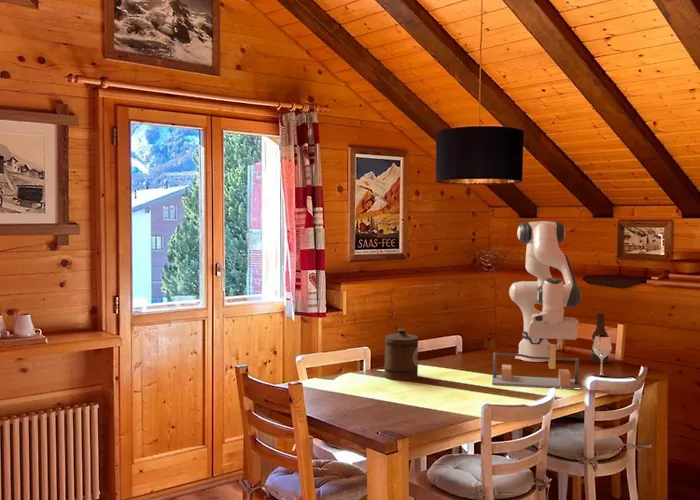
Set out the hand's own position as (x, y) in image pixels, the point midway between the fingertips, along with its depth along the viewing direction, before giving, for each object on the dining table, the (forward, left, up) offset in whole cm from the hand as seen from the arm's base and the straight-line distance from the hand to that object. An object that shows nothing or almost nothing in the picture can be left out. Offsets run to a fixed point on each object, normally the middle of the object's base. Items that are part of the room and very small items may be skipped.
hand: (552, 348), depth 302 cm
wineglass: (-23, +23, -16) cm, 36 cm away
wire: (-2, -7, -4) cm, 8 cm away
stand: (-2, -7, -16) cm, 17 cm away
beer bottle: (-52, +26, -16) cm, 60 cm away
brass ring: (0, 0, -8) cm, 8 cm away
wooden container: (-1, -65, -16) cm, 67 cm away
